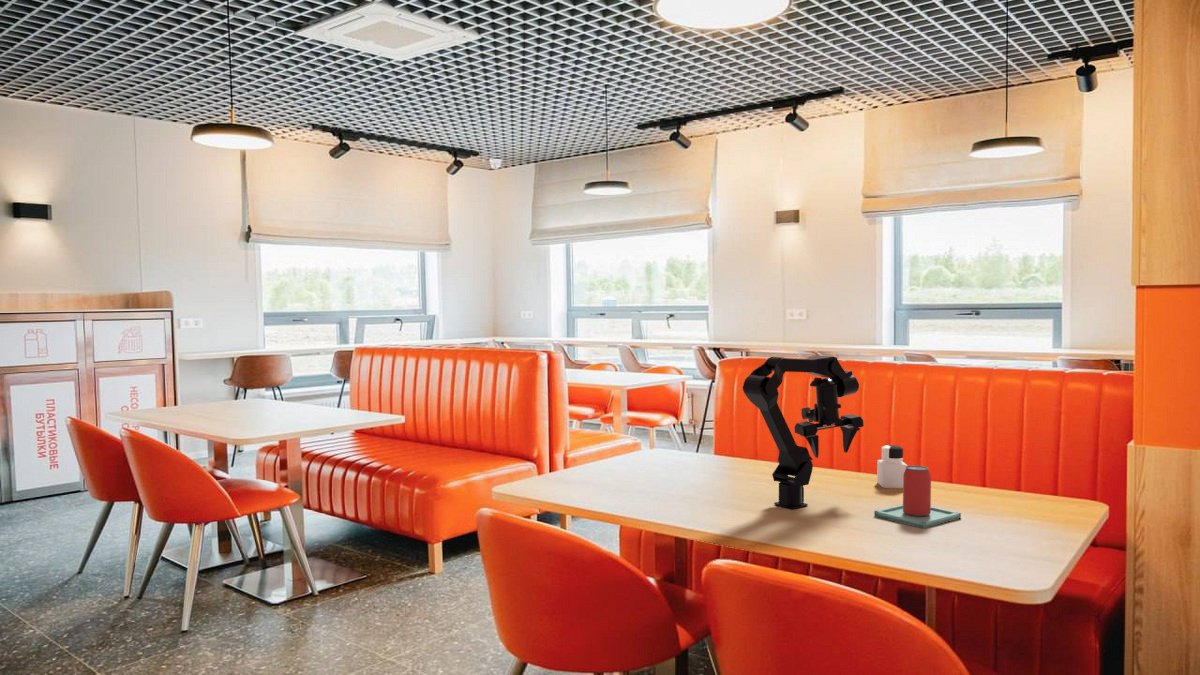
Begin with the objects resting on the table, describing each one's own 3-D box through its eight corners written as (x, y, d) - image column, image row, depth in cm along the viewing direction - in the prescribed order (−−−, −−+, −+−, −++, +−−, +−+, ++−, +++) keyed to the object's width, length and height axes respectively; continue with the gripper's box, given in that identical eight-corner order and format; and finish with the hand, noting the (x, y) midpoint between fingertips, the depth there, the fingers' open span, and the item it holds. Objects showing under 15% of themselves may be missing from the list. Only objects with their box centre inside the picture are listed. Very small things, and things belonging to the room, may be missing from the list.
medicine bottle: (901, 483, 248) (901, 444, 247) (907, 488, 241) (908, 448, 240) (876, 482, 249) (877, 443, 248) (882, 488, 242) (883, 447, 241)
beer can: (924, 519, 204) (925, 471, 204) (898, 514, 208) (899, 467, 208) (934, 513, 209) (935, 467, 208) (908, 509, 213) (909, 463, 213)
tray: (923, 528, 198) (923, 522, 198) (874, 516, 210) (874, 510, 210) (960, 518, 207) (960, 513, 207) (911, 507, 219) (911, 502, 219)
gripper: (841, 391, 238) (844, 444, 239) (783, 400, 233) (787, 454, 234) (863, 397, 227) (866, 452, 228) (802, 406, 222) (806, 462, 224)
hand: (831, 455), depth 229 cm, fingers open, 9 cm apart
